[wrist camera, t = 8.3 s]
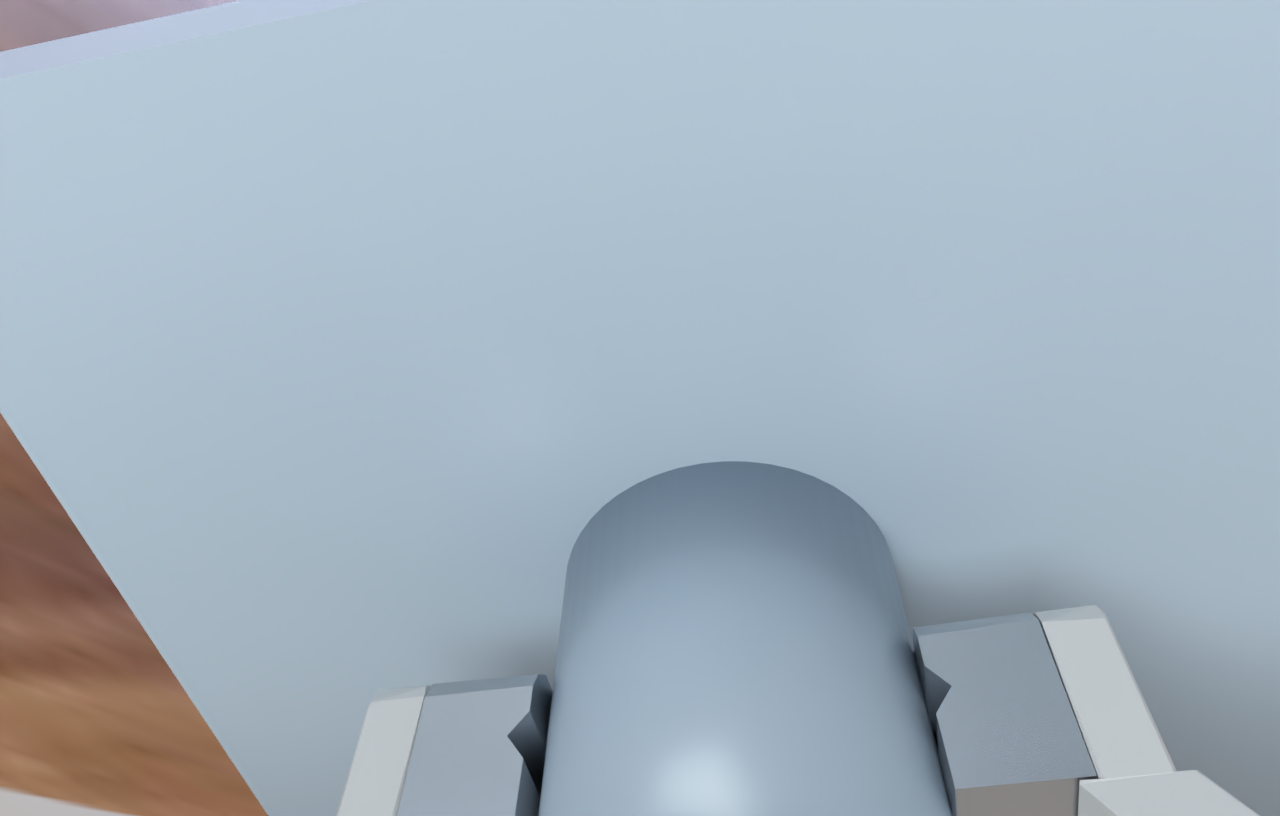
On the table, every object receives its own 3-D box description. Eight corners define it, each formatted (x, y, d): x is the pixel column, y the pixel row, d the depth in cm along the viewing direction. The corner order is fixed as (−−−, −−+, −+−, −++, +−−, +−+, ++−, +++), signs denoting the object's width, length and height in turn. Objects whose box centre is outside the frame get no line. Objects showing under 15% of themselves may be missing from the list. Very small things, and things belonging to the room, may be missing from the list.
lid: (377, 887, 16) (286, 1270, 12) (-113, 76, 9) (-672, 383, 5) (1256, 804, 14) (1465, 1218, 10) (1472, -267, 7) (2302, -174, 4)
